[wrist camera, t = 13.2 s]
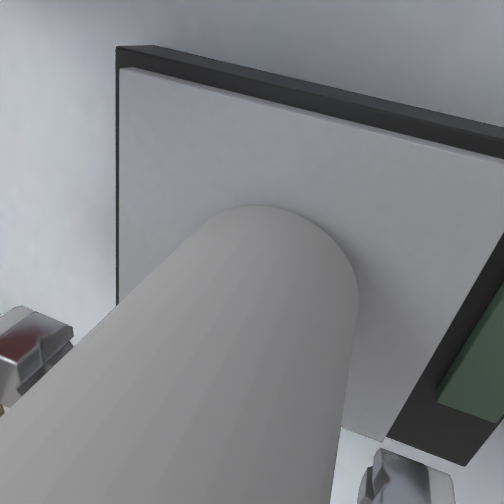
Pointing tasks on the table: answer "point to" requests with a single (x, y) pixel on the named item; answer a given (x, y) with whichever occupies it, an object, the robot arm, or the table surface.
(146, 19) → the table surface
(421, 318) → the kitchen scale
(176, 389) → the beverage can
